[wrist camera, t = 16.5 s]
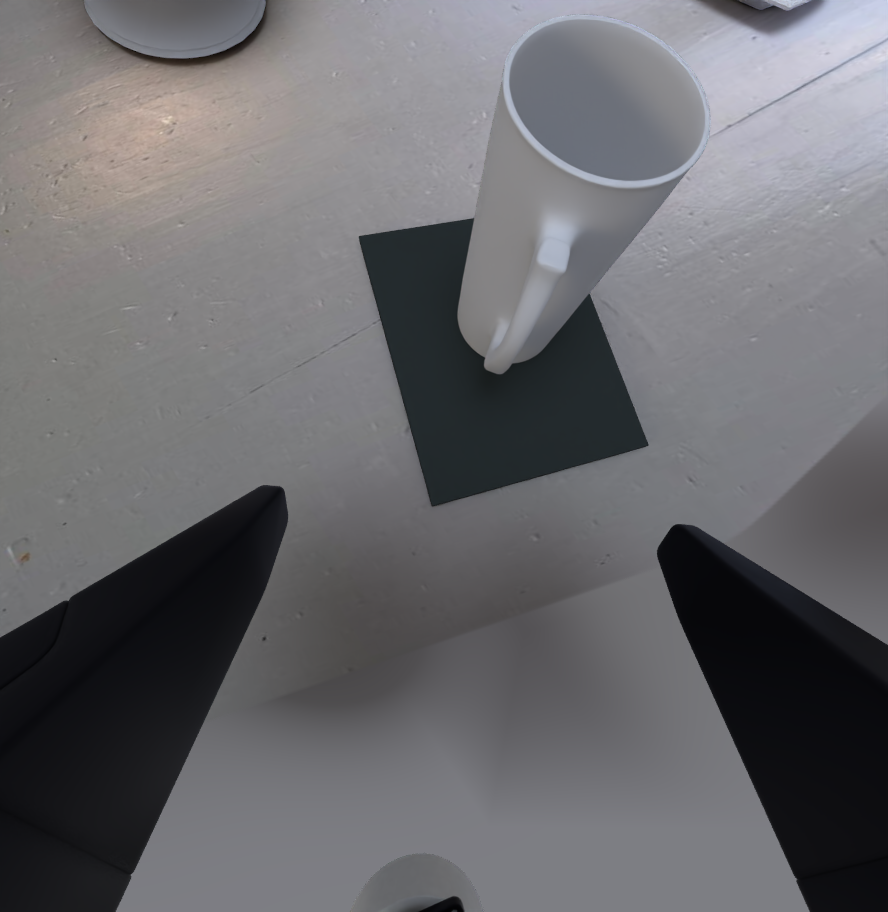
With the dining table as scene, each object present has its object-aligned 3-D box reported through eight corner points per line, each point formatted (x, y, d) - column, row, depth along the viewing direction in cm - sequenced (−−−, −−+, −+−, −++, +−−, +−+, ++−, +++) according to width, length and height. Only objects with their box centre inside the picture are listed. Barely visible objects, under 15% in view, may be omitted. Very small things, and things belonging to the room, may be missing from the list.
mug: (471, 259, 23) (536, -16, 11) (566, 294, 23) (726, 59, 12) (421, 393, 21) (437, 225, 9) (526, 431, 21) (673, 312, 9)
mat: (644, 446, 22) (649, 445, 22) (431, 506, 20) (432, 505, 20) (553, 210, 25) (555, 205, 25) (359, 240, 23) (358, 235, 23)
